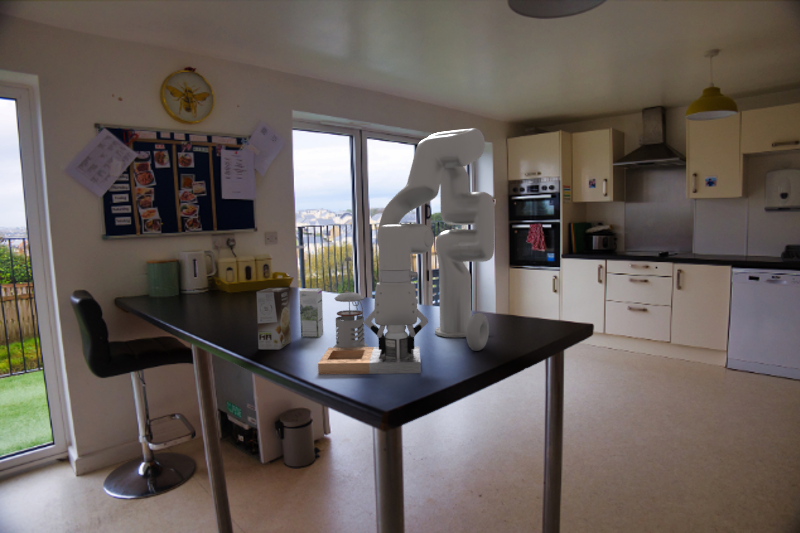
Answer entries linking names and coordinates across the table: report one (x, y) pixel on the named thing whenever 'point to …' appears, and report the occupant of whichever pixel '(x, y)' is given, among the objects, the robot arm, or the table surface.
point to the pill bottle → (396, 342)
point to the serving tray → (366, 362)
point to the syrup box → (311, 312)
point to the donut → (477, 331)
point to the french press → (349, 321)
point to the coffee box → (273, 318)
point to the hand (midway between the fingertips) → (396, 351)
